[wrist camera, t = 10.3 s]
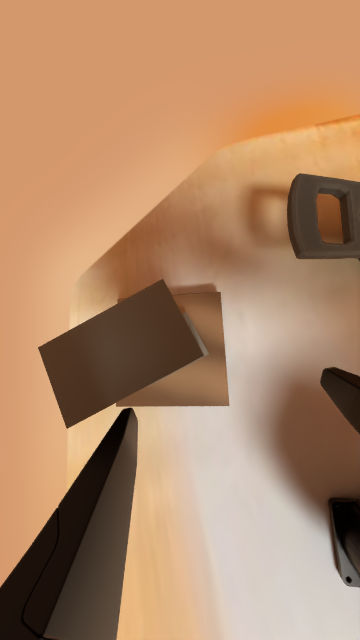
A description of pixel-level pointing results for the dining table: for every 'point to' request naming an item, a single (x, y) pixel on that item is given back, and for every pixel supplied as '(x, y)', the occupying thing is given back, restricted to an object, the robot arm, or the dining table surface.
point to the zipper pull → (303, 224)
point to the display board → (200, 376)
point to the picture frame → (120, 352)
